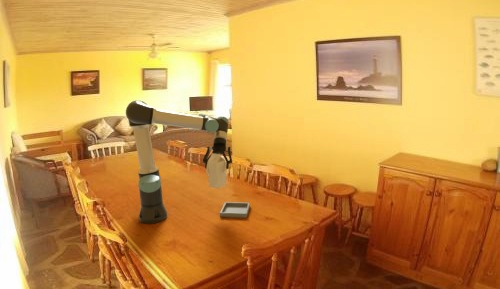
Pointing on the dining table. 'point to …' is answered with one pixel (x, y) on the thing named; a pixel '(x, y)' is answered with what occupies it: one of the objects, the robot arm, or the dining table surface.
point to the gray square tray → (235, 209)
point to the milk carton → (216, 171)
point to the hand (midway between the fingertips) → (216, 173)
